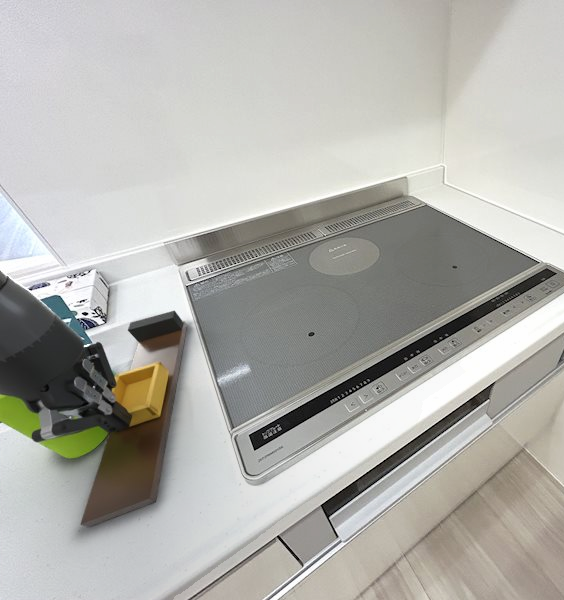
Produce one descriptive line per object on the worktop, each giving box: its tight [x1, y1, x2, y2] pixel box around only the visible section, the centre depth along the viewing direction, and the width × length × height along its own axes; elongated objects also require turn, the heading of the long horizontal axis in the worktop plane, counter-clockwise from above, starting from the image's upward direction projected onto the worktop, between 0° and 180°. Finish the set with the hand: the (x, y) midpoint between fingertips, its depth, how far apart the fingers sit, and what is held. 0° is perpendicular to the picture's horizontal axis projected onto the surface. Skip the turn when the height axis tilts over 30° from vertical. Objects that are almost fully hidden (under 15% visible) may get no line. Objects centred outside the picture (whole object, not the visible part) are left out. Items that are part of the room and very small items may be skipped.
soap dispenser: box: [0, 394, 109, 459], centre depth 39 cm, size 6×7×20 cm
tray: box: [112, 362, 169, 427], centre depth 46 cm, size 8×6×3 cm
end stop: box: [127, 310, 184, 343], centre depth 57 cm, size 2×7×3 cm, turn 110°
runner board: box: [80, 320, 188, 528], centre depth 48 cm, size 31×7×1 cm, turn 20°
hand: (123, 425), depth 42 cm, fingers closed
